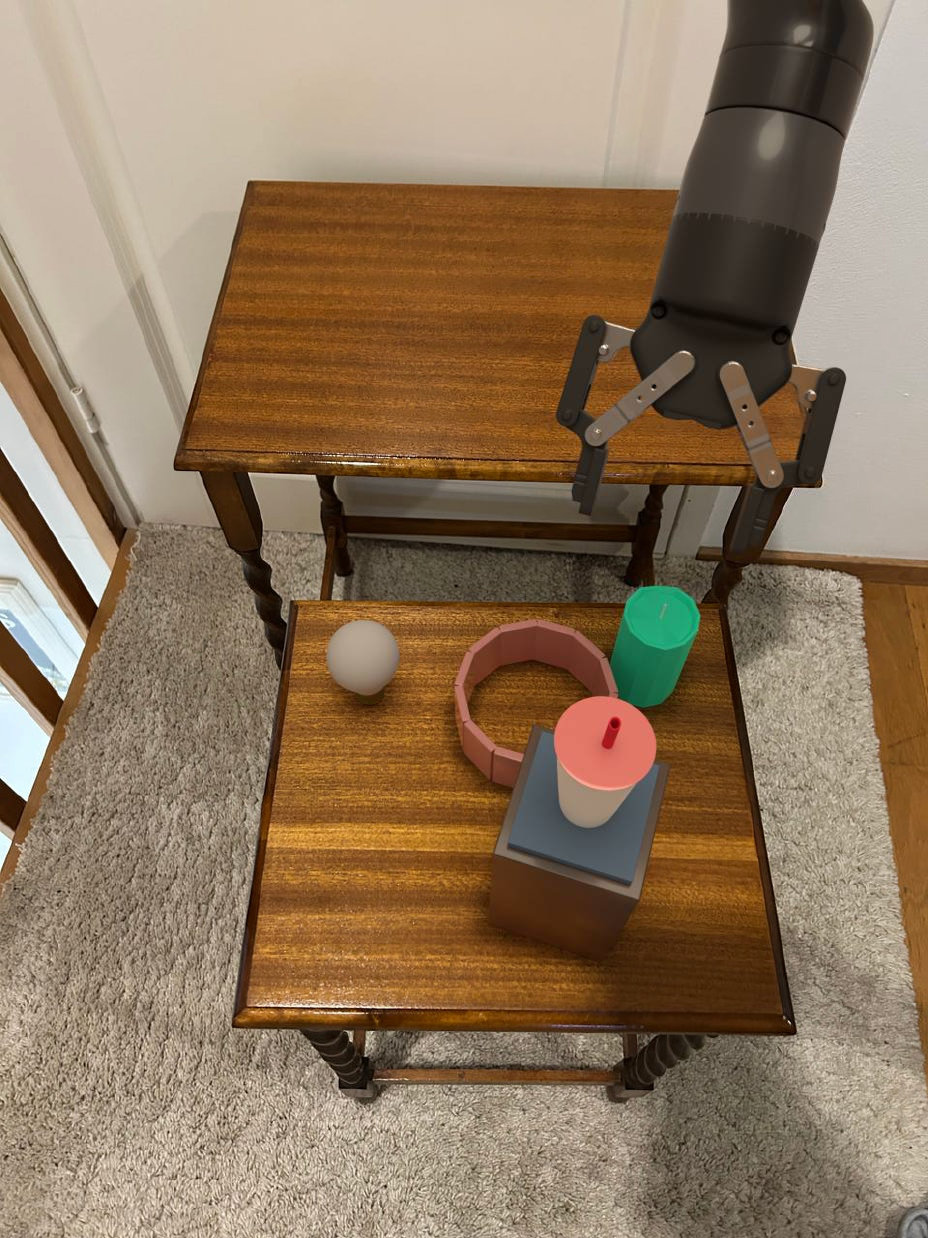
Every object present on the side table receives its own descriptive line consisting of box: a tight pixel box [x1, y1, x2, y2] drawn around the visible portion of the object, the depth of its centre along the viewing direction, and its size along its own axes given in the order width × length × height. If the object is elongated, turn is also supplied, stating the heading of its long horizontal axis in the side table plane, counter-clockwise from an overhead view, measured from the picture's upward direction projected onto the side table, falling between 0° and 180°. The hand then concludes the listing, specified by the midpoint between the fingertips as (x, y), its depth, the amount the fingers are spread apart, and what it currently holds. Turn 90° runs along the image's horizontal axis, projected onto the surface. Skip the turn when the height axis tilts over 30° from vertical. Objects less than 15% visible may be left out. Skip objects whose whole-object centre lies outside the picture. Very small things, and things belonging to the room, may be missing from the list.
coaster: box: [507, 731, 660, 885], centre depth 57 cm, size 8×8×1 cm
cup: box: [554, 696, 657, 828], centre depth 52 cm, size 5×5×12 cm
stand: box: [487, 723, 671, 963], centre depth 65 cm, size 9×9×18 cm
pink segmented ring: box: [453, 618, 619, 789], centre depth 78 cm, size 13×13×6 cm
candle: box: [609, 585, 701, 709], centre depth 77 cm, size 6×6×12 cm
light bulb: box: [326, 619, 401, 705], centre depth 77 cm, size 6×6×10 cm
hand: (660, 532), depth 52 cm, fingers open, 8 cm apart
